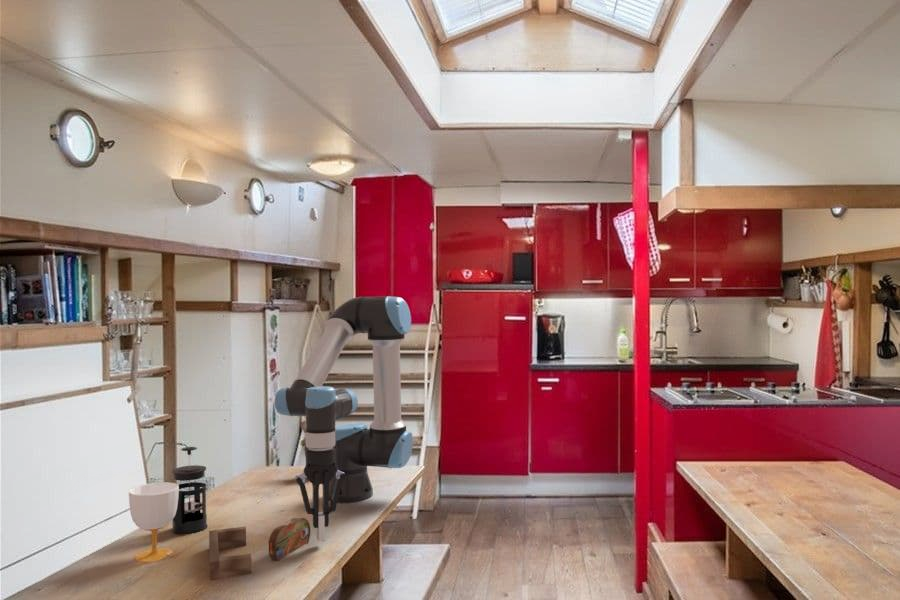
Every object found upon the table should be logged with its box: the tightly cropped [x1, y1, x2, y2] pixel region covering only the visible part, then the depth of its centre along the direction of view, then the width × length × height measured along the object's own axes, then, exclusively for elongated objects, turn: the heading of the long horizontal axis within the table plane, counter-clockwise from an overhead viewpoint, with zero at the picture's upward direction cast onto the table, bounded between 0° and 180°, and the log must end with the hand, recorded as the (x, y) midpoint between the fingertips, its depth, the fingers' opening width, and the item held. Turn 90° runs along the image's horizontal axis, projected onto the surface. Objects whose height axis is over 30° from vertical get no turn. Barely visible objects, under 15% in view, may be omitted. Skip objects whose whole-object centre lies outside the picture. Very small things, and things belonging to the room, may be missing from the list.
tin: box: [267, 517, 311, 562], centre depth 169 cm, size 15×3×8 cm, turn 159°
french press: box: [171, 446, 208, 535], centre depth 188 cm, size 12×9×23 cm
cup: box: [128, 481, 180, 563], centre depth 169 cm, size 12×12×17 cm
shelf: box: [208, 525, 252, 581], centre depth 164 cm, size 9×22×5 cm, turn 20°
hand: (320, 539), depth 172 cm, fingers closed
